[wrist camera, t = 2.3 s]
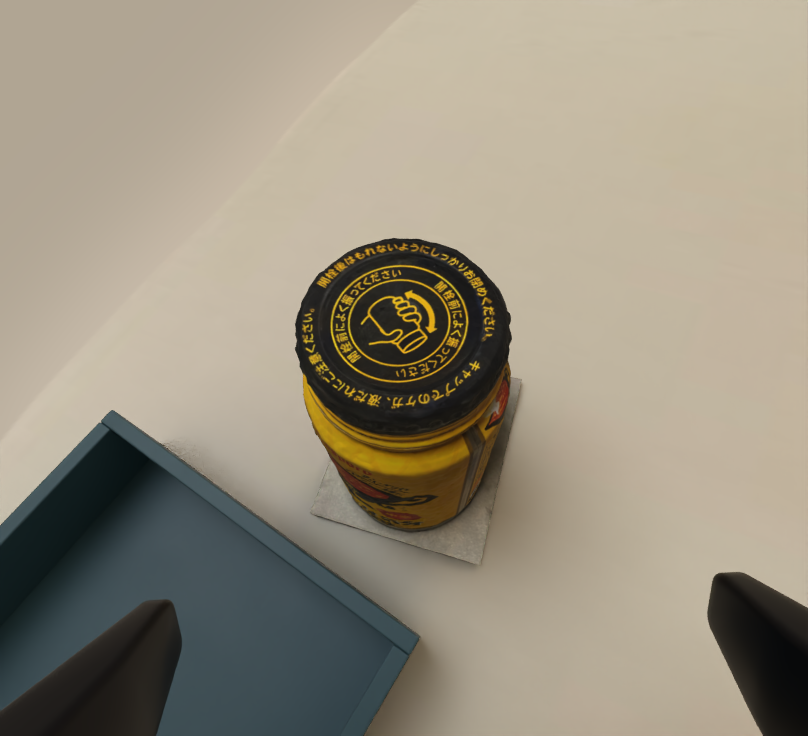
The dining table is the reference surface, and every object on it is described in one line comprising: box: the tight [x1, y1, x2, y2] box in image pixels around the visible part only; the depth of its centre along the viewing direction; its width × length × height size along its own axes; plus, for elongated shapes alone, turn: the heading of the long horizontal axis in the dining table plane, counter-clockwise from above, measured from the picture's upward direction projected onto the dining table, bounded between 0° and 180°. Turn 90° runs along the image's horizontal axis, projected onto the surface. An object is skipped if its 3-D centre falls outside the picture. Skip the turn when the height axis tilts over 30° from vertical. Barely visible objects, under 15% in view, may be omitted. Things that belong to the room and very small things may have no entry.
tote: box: [0, 410, 420, 736], centre depth 17 cm, size 15×14×4 cm
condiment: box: [295, 238, 522, 565], centre depth 18 cm, size 7×8×12 cm
